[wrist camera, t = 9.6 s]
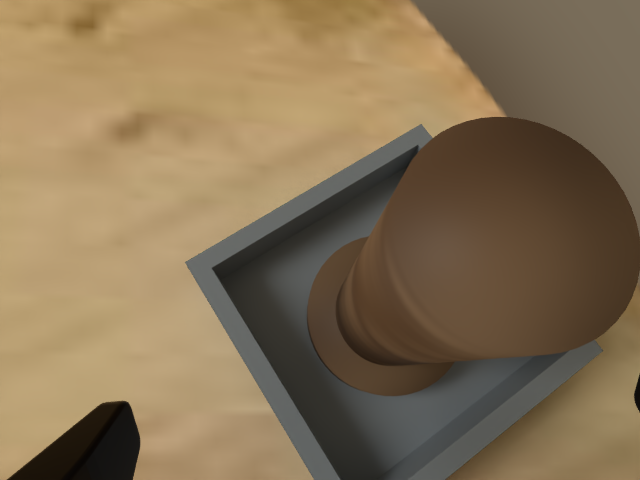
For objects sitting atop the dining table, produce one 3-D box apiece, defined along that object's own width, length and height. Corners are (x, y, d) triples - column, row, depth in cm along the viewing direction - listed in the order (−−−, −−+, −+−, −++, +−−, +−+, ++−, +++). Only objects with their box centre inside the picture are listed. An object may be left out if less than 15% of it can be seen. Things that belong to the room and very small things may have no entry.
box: (560, 353, 21) (603, 350, 18) (346, 523, 18) (356, 551, 15) (405, 154, 24) (421, 123, 21) (199, 277, 21) (184, 262, 18)
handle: (484, 337, 20) (781, 281, 8) (363, 427, 19) (497, 531, 7) (396, 218, 22) (532, 16, 9) (278, 293, 20) (255, 170, 8)
